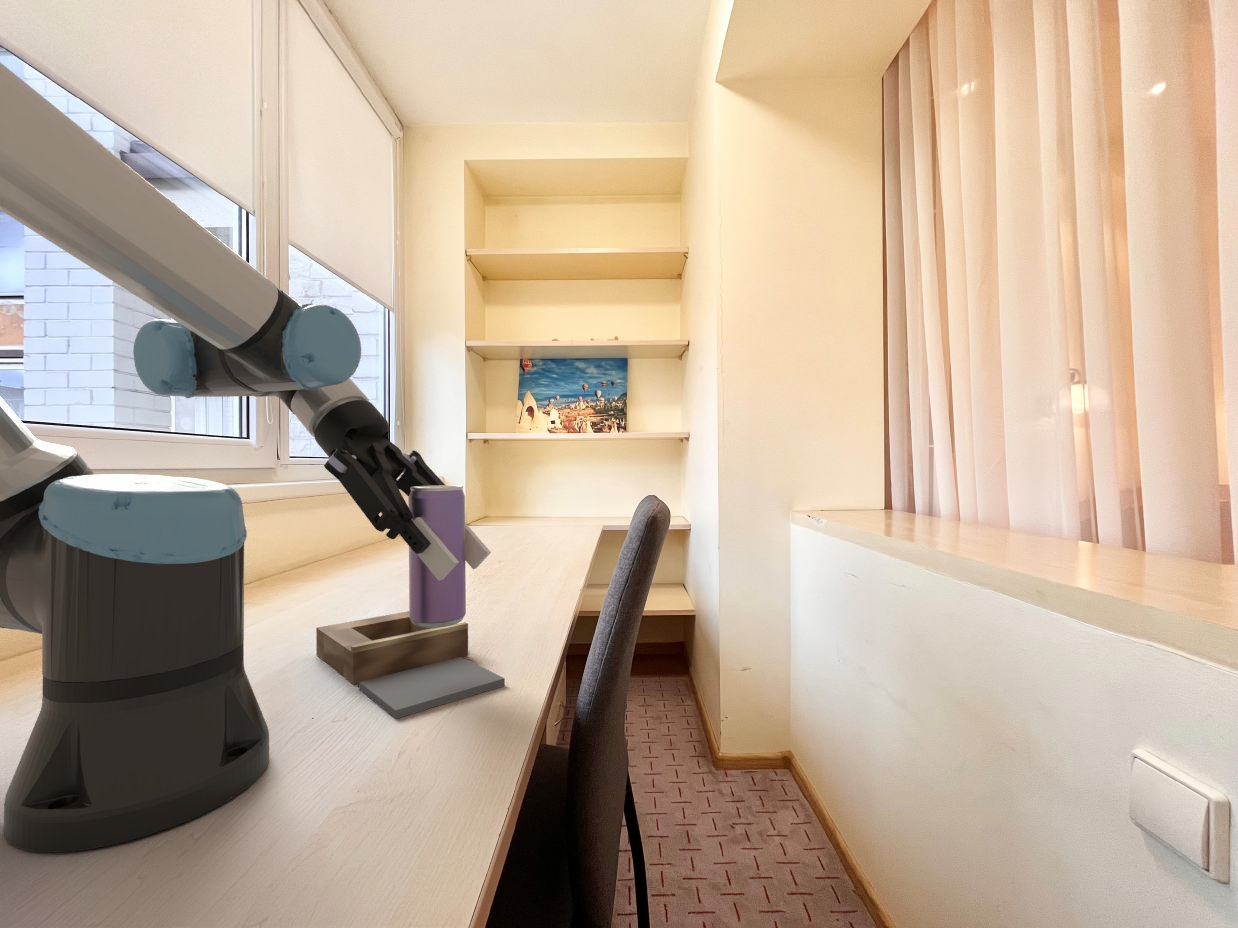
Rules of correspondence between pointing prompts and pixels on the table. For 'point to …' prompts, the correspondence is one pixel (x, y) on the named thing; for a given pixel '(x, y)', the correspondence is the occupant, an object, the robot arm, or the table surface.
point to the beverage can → (447, 520)
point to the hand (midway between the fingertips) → (466, 565)
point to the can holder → (387, 646)
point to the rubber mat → (429, 686)
